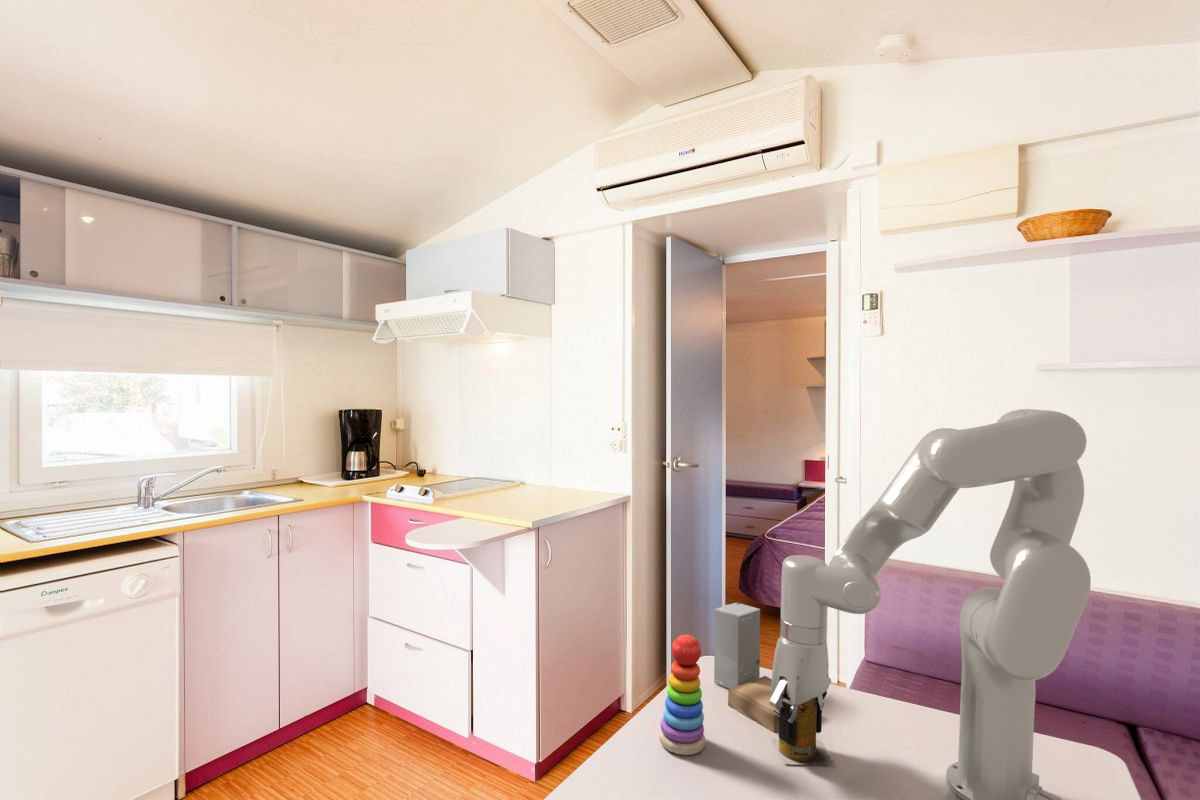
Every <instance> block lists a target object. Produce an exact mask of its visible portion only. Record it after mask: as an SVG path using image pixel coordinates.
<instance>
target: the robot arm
mask: <svg viewBox="0 0 1200 800" xmlns="http://www.w3.org/2000/svg"><path fill="white" fill-rule="evenodd" d="M1086 447H1087V435H1086V432H1085V430H1084V428H1083V427H1082V425H1081V423H1079V422H1078V421H1077V420H1076V419H1074V418H1073V417H1071V416H1069V415H1068V414H1065V413H1062V412H1060V411H1054V410H1045V409H1033V408H1032V409H1031V408H1023V409H1021V408H1020V409H1016V410H1010V411H1009V412H1006V413H1004V414H1003V415H1001V417H1000V418H999V419H998V420H997V421H996V422H995V423H990V424H985V425H981V426H980V425H979V426H976V427H970V428H964V429H963V428H962V429H958V428H957V429H956V428H949V427H945V428H944V427H943V428H935V429H933V430H931V431H929V432H928V433H926V434H925V435H924V436H923V437H922V438H921V439H920V440H919V442H918V443H917V444H916V446H915V447H914V448H913V450H912V451H911V453H910V455H909V456H908V457H907V458H906V459H905V461H904V463H903V464H902V465H901V467H900V469H899V470H898V472H897V473H896V475H894V477H893V478H892V480H891V482H890V483H889V484H888V485H887V487H886V488H885V490H883V492H882V493H881V495H880V497H879V498H878V499H877V500H876V502H875V503H873V504H872V505H871V507H870V508H869V509H868V510H867V512H866V513H865V514H864V515H863V516H862V517H861V518H860V519H859V521H858V522H857V523H856V524H855V525H854V527H853V528H852V529H851V531H850V532H849V534H847V536H846V538H845V539H844V540H843V541H842V543H841V544H840V546H839V547H838V549H837V550H836V551H835V554H833V557H831V559H830V562H829V564H827V562H825V561H824V560H823V559H821V558H818V557H815V556H813V555H803V554H794V555H789V556H787V557H786V558H784V560H783V562H782V565H781V566H782V567H781V586H780V587H781V593H780V619H779V620H780V624H779V627H780V628H779V637H778V639H777V641H776V646H775V650H774V654H773V662H772V672H771V679H772V685H771V691H772V697H771V699H770V701H769V704H770V705H771V707H772V708H773V709H774V711H775V712H776V713H777V716H779V730H778V739H779V738H780V739H781V740H783V741H785V742H786V743H788V744H790V745H791V746H795V745H796V744H797V722H796V721H794V720H795V717H796V713H797V709H798V705H800V704H802V703H804V702H807V701H809V700H810V699H811V698H815V700H816V702H817V721H816V734H820V733H821V732H822V724H823V709H824V707H825V701H824V700H825V698H826V696H827V695H828V690H829V687H830V686H831V683H832V678H830V676H829V673H830V672H829V671H830V670H829V652H828V651H829V650H828V641H827V638H828V636H827V634H828V608H831V609H834V610H837V611H838V610H839V611H841V612H844V613H848V614H854V615H864V614H868V613H870V612H872V611H874V610H876V608H877V606H878V605H879V604H880V601H881V598H882V597H881V596H882V593H881V587H880V584H879V582H878V579H877V575H878V573H879V572H880V570H881V569H882V567H883V566H884V565H885V563H887V561H888V560H889V558H890V557H891V556H892V555H893V553H895V552H896V551H897V549H898V548H900V547H901V546H902V545H904V544H905V543H906V542H909V541H911V540H914V539H916V538H919V537H922V536H923V535H924V534H926V533H927V532H929V531H930V530H931V529H932V527H933V526H934V524H935V523H936V522H937V521H938V520H939V518H940V517H941V515H942V513H943V512H944V510H946V508H947V506H948V505H949V504H950V503H951V501H952V500H953V498H954V497H955V495H956V494H957V493H958V491H959V490H960V489H970V488H978V487H979V488H980V487H984V486H985V487H986V486H991V485H996V484H1003V483H1008V482H1011V481H1012V482H1013V481H1014V482H1013V483H1014V484H1013V490H1012V492H1011V497H1010V501H1009V504H1008V506H1007V508H1006V511H1005V515H1004V516H1003V519H1002V521H1001V524H1000V526H999V528H998V531H997V534H996V536H995V539H994V541H993V543H992V545H991V548H990V554H989V559H990V560H989V561H990V563H991V566H992V568H993V570H994V571H995V573H996V574H997V575H998V576H999V577H1000V578H1001V579H1002V580H1003V581H1004V582H1003V585H1002V588H1000V587H995V586H984V587H980V588H977V589H975V590H973V591H972V592H970V593H969V594H968V595H967V596H966V597H965V598H964V600H963V602H962V605H961V606H960V612H959V634H960V646H961V648H960V650H961V681H960V682H961V684H960V700H959V701H960V703H959V706H960V707H959V708H960V709H959V729H958V730H959V733H958V756H957V757H958V759H957V760H958V761H957V762H955V763H952V764H950V765H949V766H947V769H946V777H945V778H946V782H947V785H948V786H949V788H950V789H951V790H952V791H953V793H954V794H956V795H957V797H959V798H960V799H961V800H1062V797H1061V796H1058V795H1056V794H1055V793H1053V792H1049V791H1047V790H1045V789H1043V787H1042V786H1041V785H1039V784H1040V775H1038V774H1036V773H1034V772H1033V759H1034V758H1033V757H1034V755H1033V753H1034V731H1035V726H1034V725H1035V705H1036V681H1037V680H1041V679H1043V678H1046V677H1047V676H1050V674H1052V673H1053V672H1054V671H1055V670H1056V669H1057V668H1058V667H1059V666H1060V664H1061V662H1062V661H1063V659H1064V657H1065V655H1066V652H1067V650H1068V648H1069V646H1070V643H1071V641H1072V639H1073V636H1074V634H1075V632H1076V630H1077V627H1078V625H1079V622H1080V620H1081V617H1082V615H1083V613H1084V610H1085V608H1086V605H1087V602H1088V600H1089V595H1090V593H1091V586H1092V584H1091V581H1092V580H1091V572H1090V569H1089V566H1088V564H1087V562H1086V560H1085V559H1084V557H1083V556H1082V555H1081V553H1079V552H1078V551H1077V550H1076V548H1074V547H1073V546H1071V541H1072V538H1073V536H1074V534H1075V533H1074V532H1075V530H1076V527H1077V524H1078V520H1079V517H1080V515H1081V512H1082V508H1083V504H1084V498H1085V480H1084V477H1083V472H1082V471H1081V467H1080V464H1079V463H1078V461H1079V460H1080V459H1081V458H1082V456H1083V454H1084V453H1085V450H1086ZM787 695H788V696H789V698H790V699H788V698H787ZM786 703H788V704H790V705H791V708H790V712H789V711H788V710H787V709H786V708H785V707H786Z"/></svg>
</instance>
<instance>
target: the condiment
mask: <svg viewBox="0 0 1200 800" xmlns="http://www.w3.org/2000/svg"><path fill="white" fill-rule="evenodd" d="M787 698H788V699H790V698H789V696H788V695H787ZM785 708H786V709H787V710H788V711H789V712H790V708H791V705H790V704H788V703H786V707H785ZM794 721H796V722H797V744H796V745H795V746H791V745H790V744H788V743H786V742H785V741H783V740H781V739H780V738H779V737H778V738H771V741H773V744H774V747H775V748H776V751H777V752H778V754H779V757H780V758H781V761H782V763H783V764H784V765H795V766H796V765H799V766H803V765H804V766H809V765H810V766H812V765H817V766H818V765H819V766H820V765H821V766H826V765H827V766H829V765H830V766H833V765H834V766H836V763H835V762H834V761H833V759H832V757H831V756H830V755H829V753H828V751H827V750H826V748H825V746H824V745H823V743H822V741H821V740H820V739H817V733H816V721H817V702H816V700H815V698H811V699H810V700H809V701H807V702H804V703H802V704H800V705H798V709H797V713H796V717H795V720H794Z"/></svg>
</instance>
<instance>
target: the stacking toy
mask: <svg viewBox="0 0 1200 800" xmlns="http://www.w3.org/2000/svg"><path fill="white" fill-rule="evenodd" d="M700 644H701V643H700V642H699V641H698V639H697V638H696V637H694V636H692V635H690V634H681V635H679V636H677V637H676V638H675V639H674V640H673V642H672V645H671V654H672V657H673V659H674V662H672V664H671V666H670V671H671V673H670V674H669V676H668V683H669V685H668V686H667V687H666V688H667V689H666V693H667V696H666V697H665V699H664V700H665V701H664V704H665V705H664V706H665V707H664V709H663V717H662V718H661V720H660V731H659V734H658V739H659V743H660V744H661V745H662V746H663V747H664V748H665V749H666V750H667V751H669V752H671V753H672V754H673V753H674V754H676V755H680V756H690V755H691V756H692V755H695V754H698V753H699V752H701V751H702V750H703V749H704V747H705V745H706V736H705V734H704V732H705V725H704V724H703V723H704V720H705V716H704V715H705V714H704V712H703V709H704V704H703V701H702V695H703V693H702V691H703V690H702V689H701V687H700V686H701V679H700V677H699V676H700V674H701V668H700V666H699V664H698V663H697V662H699V659H700V658H701V654H702V647H701V645H700Z"/></svg>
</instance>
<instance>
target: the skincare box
mask: <svg viewBox="0 0 1200 800" xmlns="http://www.w3.org/2000/svg"><path fill="white" fill-rule="evenodd" d="M760 633H761V609H760V608H757V607H754V606H751V605H747V604H744V603H740V602H733V603H730V604H724V605H722V606H720V607H717V608H715V609H714V668H713V669H714V670H713V672H714V674H713V675H714V676H713V679H714V681H713V682H714V684H715V685H719V686H721V687H724V688H725V689H727V690H730V689H732V688H735V687H738V686H740V685H743V684H745V683H748V682H750V681H753V680H756V679H758V678H761V677H760V675H761V674H760V673H761V672H760V667H761V666H760V664H761V663H760V661H761V660H760V658H761V655H760V653H761V652H760V651H761V650H760V649H761V647H760V646H761V642H760V641H761V634H760Z"/></svg>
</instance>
